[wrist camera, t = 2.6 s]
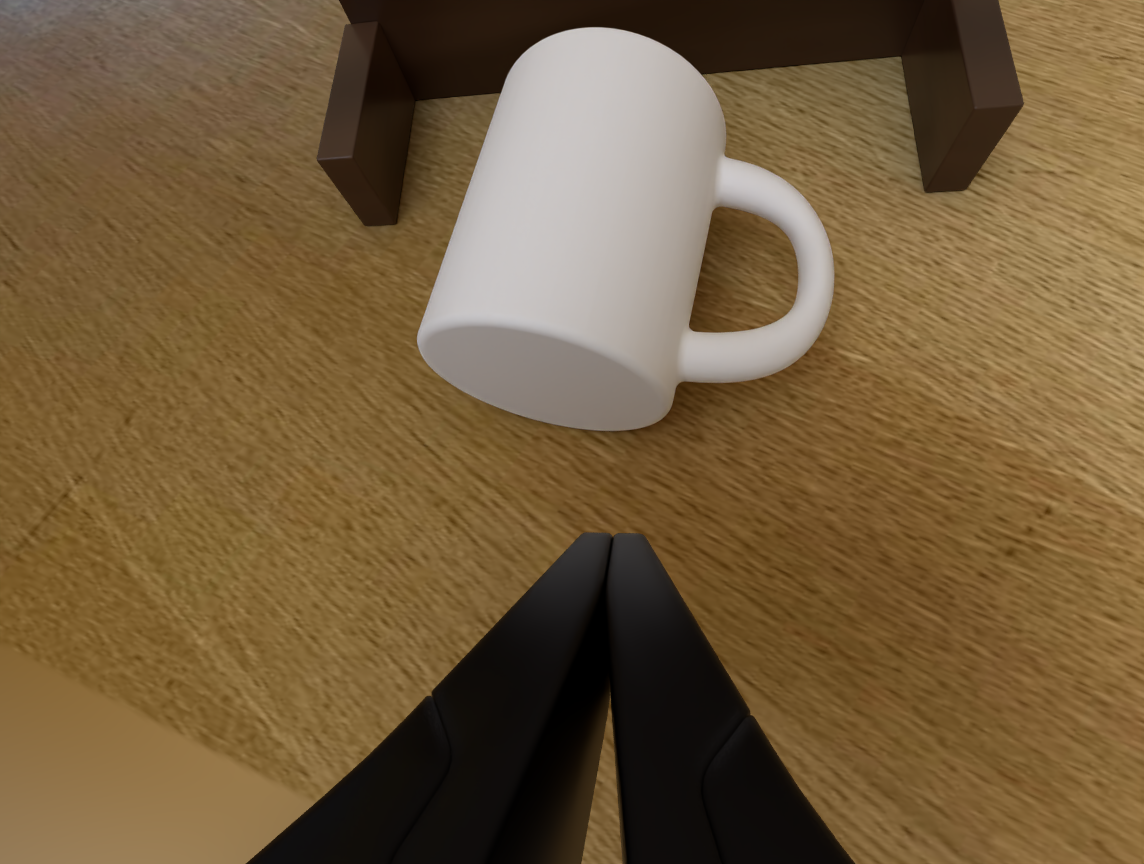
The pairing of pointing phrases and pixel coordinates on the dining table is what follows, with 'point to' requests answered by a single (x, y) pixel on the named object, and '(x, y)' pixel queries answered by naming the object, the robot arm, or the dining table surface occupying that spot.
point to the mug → (607, 241)
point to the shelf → (687, 26)
